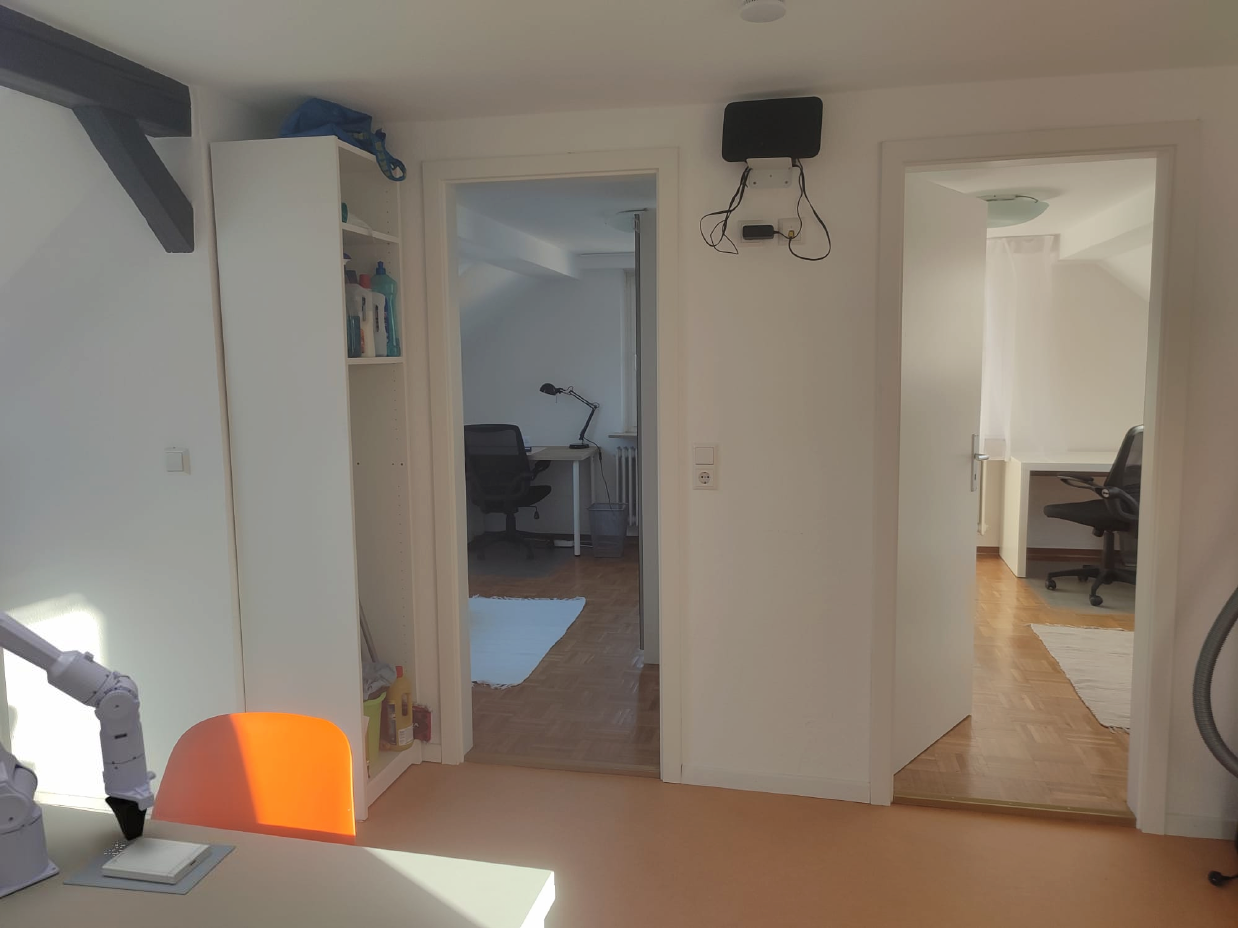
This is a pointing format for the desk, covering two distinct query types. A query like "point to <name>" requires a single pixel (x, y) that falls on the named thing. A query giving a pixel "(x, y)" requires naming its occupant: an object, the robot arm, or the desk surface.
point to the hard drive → (157, 860)
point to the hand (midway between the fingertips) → (133, 836)
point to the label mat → (94, 877)
